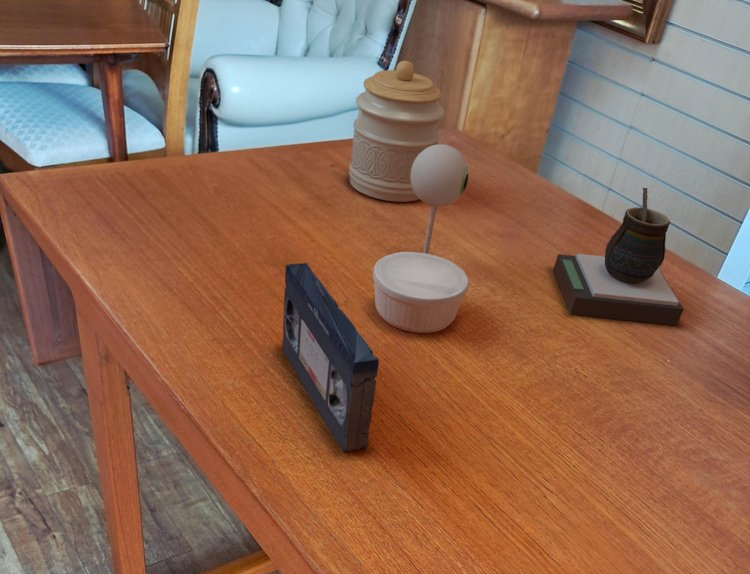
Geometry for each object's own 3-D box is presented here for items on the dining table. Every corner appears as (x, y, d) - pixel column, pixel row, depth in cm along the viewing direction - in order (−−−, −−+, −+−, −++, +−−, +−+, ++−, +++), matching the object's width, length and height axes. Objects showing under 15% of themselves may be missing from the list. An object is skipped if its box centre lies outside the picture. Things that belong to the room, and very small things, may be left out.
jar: (330, 178, 122) (341, 51, 110) (390, 165, 130) (406, 45, 118) (387, 210, 116) (405, 79, 104) (447, 194, 123) (470, 70, 111)
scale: (651, 281, 109) (659, 260, 107) (676, 325, 100) (686, 304, 98) (553, 270, 108) (559, 249, 106) (570, 314, 99) (577, 292, 97)
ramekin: (391, 344, 89) (398, 302, 85) (353, 295, 96) (357, 255, 92) (477, 333, 93) (487, 292, 89) (434, 287, 100) (441, 247, 96)
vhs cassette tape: (280, 348, 85) (284, 262, 79) (306, 346, 86) (313, 261, 80) (338, 455, 73) (349, 364, 67) (367, 450, 74) (381, 360, 68)
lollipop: (442, 280, 102) (466, 162, 92) (390, 266, 103) (408, 147, 93) (456, 258, 107) (479, 144, 97) (406, 245, 108) (424, 131, 98)
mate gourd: (612, 289, 99) (639, 211, 92) (588, 260, 104) (613, 185, 98) (663, 289, 101) (694, 213, 94) (637, 262, 106) (665, 187, 99)
